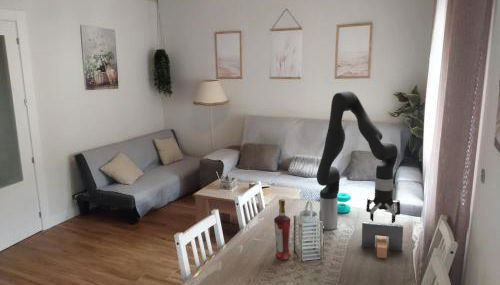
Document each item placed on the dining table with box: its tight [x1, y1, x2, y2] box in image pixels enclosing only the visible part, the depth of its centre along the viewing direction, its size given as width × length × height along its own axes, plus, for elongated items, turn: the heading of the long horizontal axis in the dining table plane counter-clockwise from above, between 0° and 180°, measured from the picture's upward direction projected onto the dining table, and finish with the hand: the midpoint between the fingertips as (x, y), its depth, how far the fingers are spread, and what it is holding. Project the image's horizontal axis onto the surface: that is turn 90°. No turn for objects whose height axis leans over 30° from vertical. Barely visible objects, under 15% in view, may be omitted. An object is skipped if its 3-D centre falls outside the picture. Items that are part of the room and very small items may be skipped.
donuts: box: [337, 192, 352, 214], centre depth 221 cm, size 10×10×10 cm
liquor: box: [273, 198, 291, 261], centre depth 167 cm, size 7×7×28 cm
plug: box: [376, 235, 388, 259], centre depth 175 cm, size 4×20×5 cm, turn 162°
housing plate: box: [361, 221, 404, 252], centre depth 174 cm, size 18×2×12 cm, turn 71°
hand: (382, 221), depth 166 cm, fingers open, 8 cm apart
